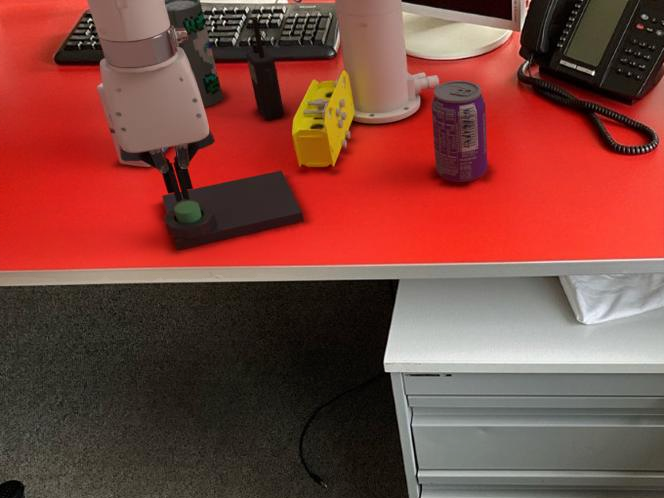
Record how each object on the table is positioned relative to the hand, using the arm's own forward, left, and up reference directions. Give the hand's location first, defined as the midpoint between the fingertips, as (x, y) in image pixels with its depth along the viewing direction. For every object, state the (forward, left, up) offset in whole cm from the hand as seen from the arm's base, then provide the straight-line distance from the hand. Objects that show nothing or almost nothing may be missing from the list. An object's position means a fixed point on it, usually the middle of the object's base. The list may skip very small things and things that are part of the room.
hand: (181, 195), depth 109 cm
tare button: (0, 0, -3) cm, 3 cm away
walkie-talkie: (-17, -31, -6) cm, 35 cm away
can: (-8, -41, -6) cm, 42 cm away
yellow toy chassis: (-22, -17, -6) cm, 28 cm away
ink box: (+2, -26, -6) cm, 26 cm away
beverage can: (-37, -1, -6) cm, 37 cm away
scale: (-6, -4, -6) cm, 9 cm away
